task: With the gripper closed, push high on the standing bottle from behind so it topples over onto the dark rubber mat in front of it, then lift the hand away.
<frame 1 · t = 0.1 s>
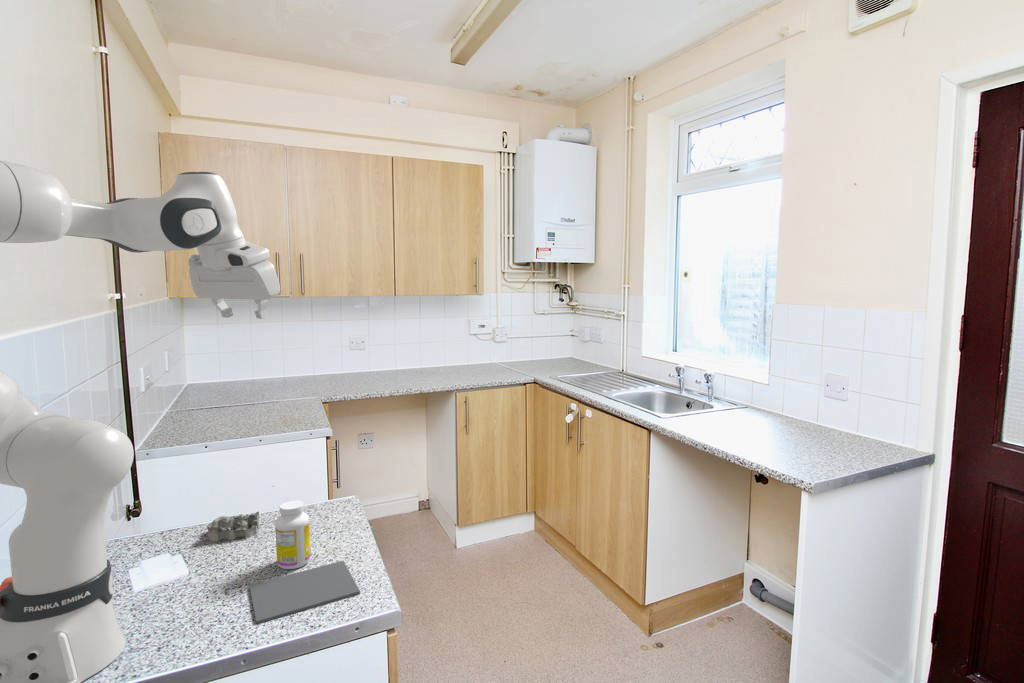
hand: (245, 317, 112), 52 cm above the counter, tool tilted 20°, fingers open, 8 cm apart
egg carton: (234, 534, 125), on the counter
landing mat: (304, 590, 102), on the counter
supplement bottle: (294, 563, 112), on the counter
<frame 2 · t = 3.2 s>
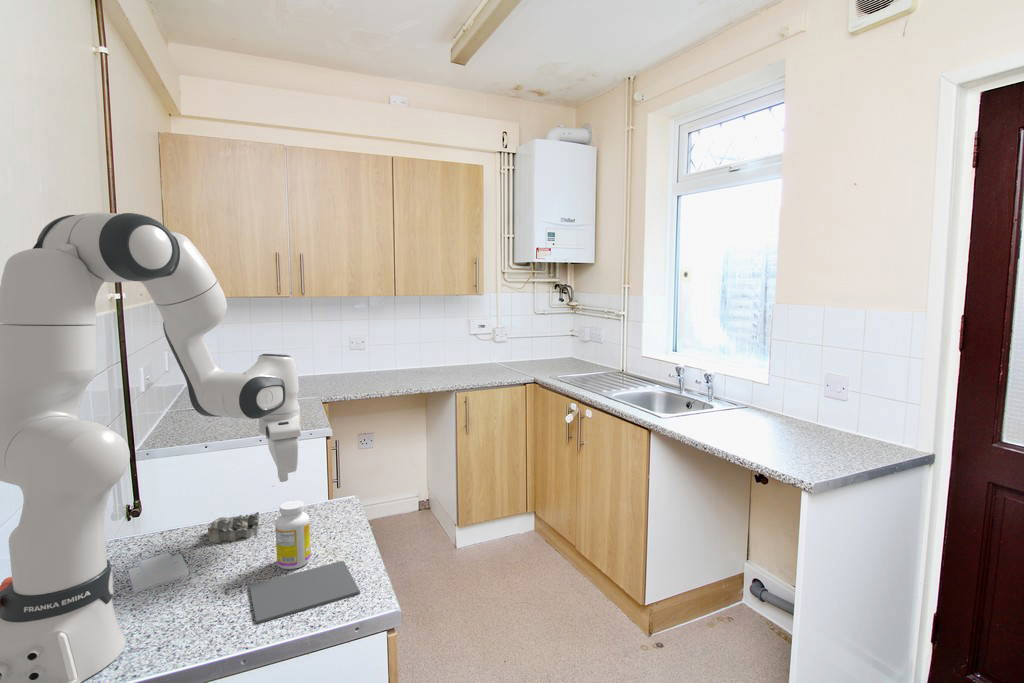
hand: (283, 479, 123), 13 cm above the counter, tool pointing down, fingers closed
nothing on the counter moved.
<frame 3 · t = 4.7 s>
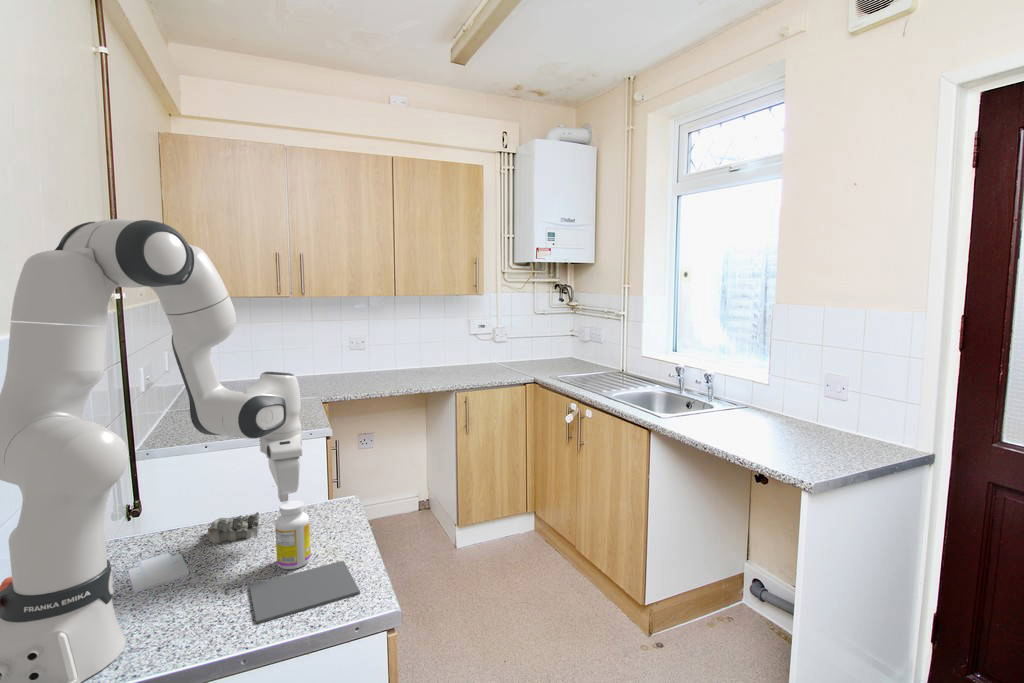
hand: (283, 499, 121), 9 cm above the counter, tool pointing down, fingers closed
nothing on the counter moved.
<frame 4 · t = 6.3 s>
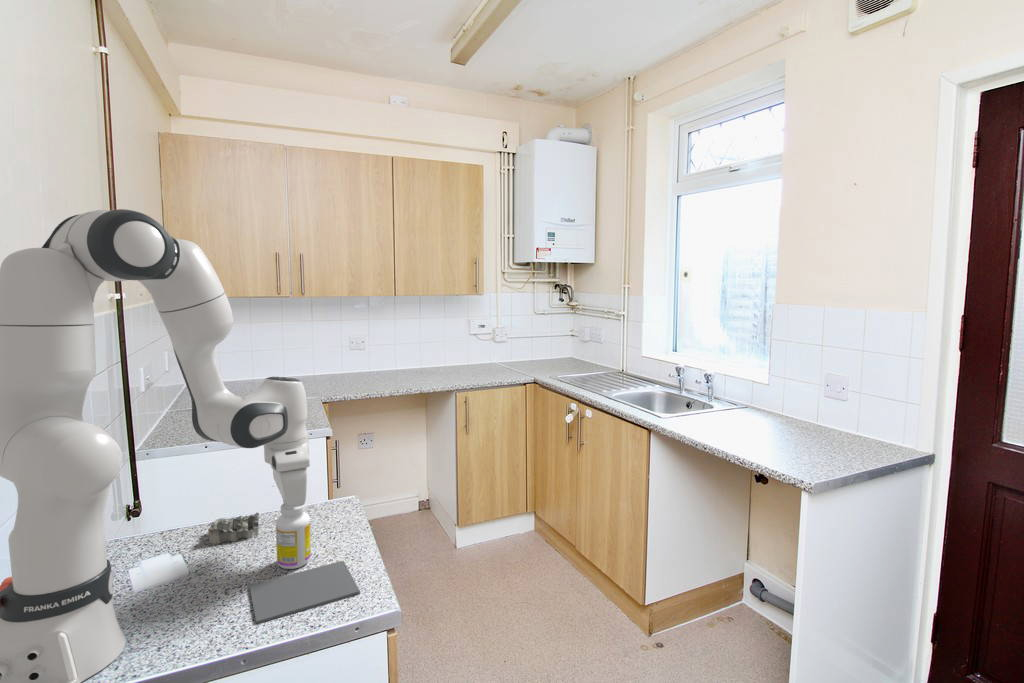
hand: (289, 512, 114), 10 cm above the counter, tool pointing down, fingers closed
supplement bottle: (294, 562, 112), on the counter, touching gripper
everything else where it was.
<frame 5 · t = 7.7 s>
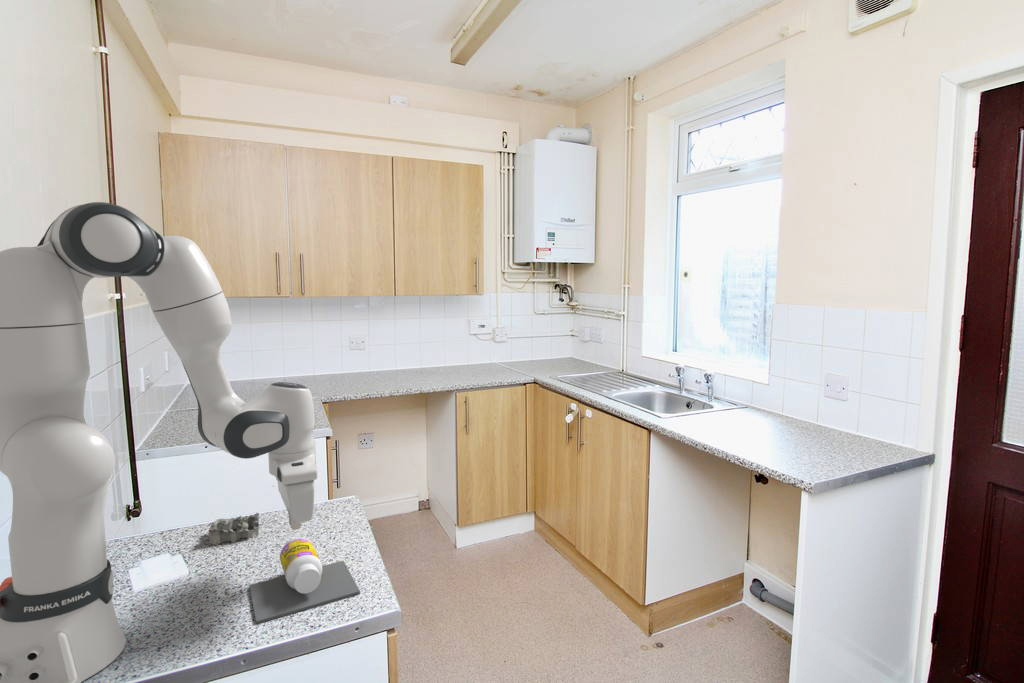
hand: (295, 526, 107), 10 cm above the counter, tool pointing down, fingers closed
supplement bottle: (296, 551, 109), point 4 cm above the counter, touching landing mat
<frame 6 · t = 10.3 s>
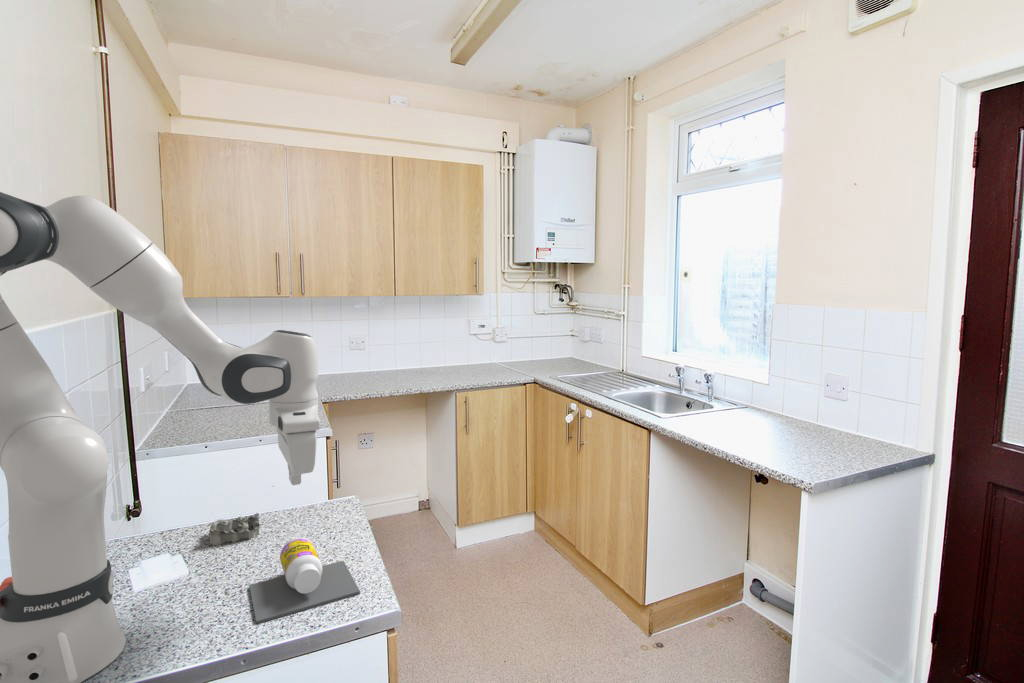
hand: (295, 482, 103), 20 cm above the counter, tool pointing down, fingers closed
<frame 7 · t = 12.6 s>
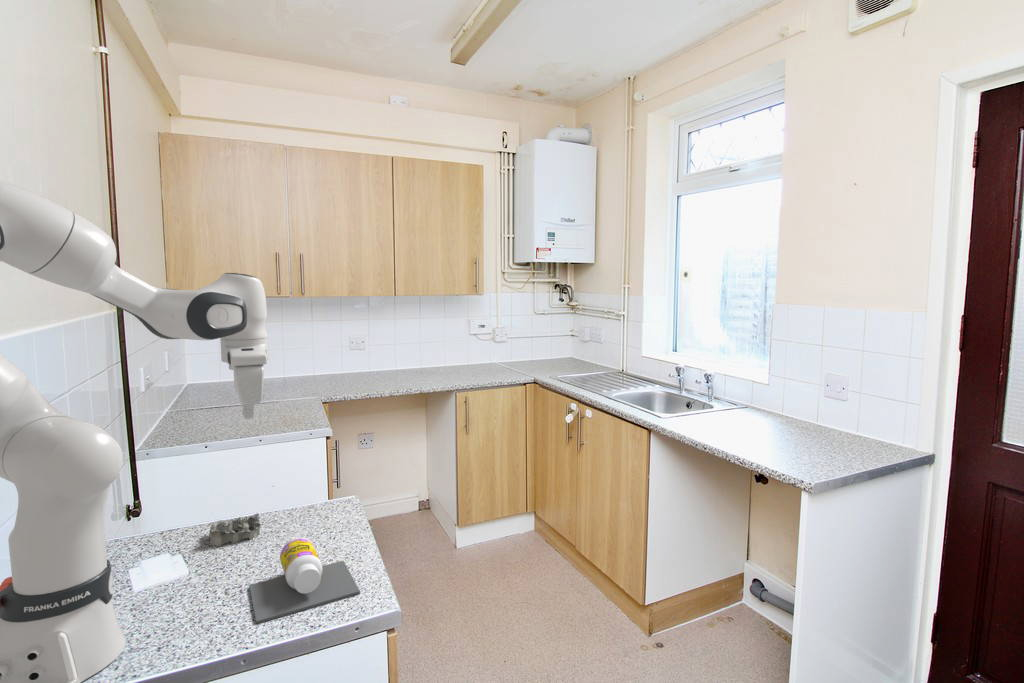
hand: (248, 417, 110), 31 cm above the counter, tool pointing down, fingers closed
at the end: supplement bottle tilted 90°; supplement bottle inside the target area (8.3 cm from its centre), point 3.8 cm above the counter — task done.
